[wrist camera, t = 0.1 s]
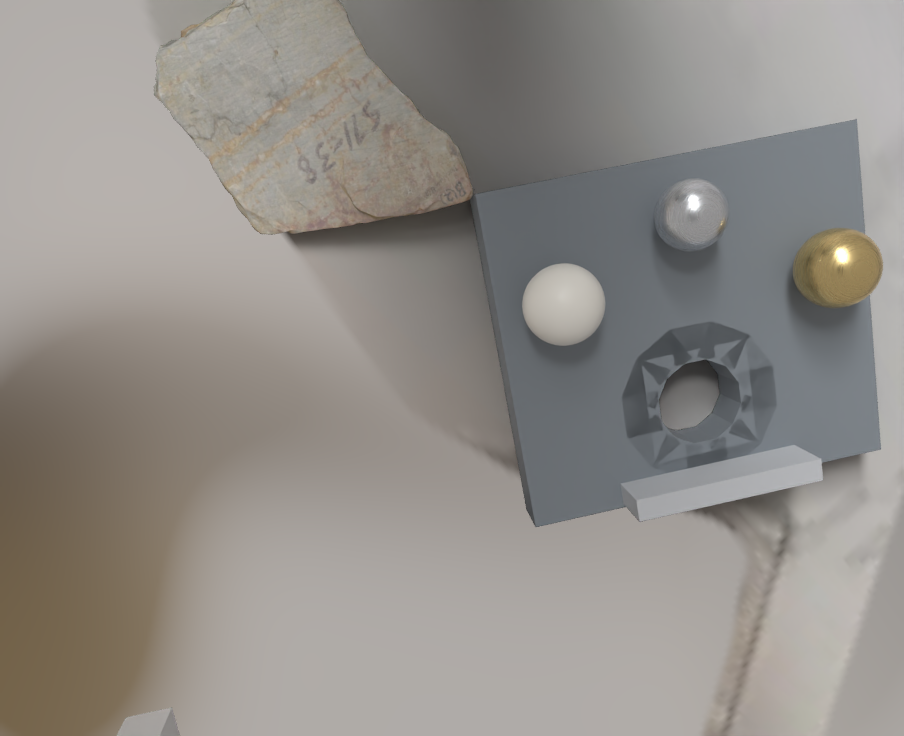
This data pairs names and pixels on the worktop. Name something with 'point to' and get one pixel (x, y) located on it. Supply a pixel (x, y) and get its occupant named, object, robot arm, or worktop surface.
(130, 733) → the robot arm
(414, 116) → the stone
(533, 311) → the white ball
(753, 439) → the board
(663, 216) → the steel ball
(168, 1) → the worktop surface
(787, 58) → the worktop surface
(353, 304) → the worktop surface
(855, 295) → the brass ball
